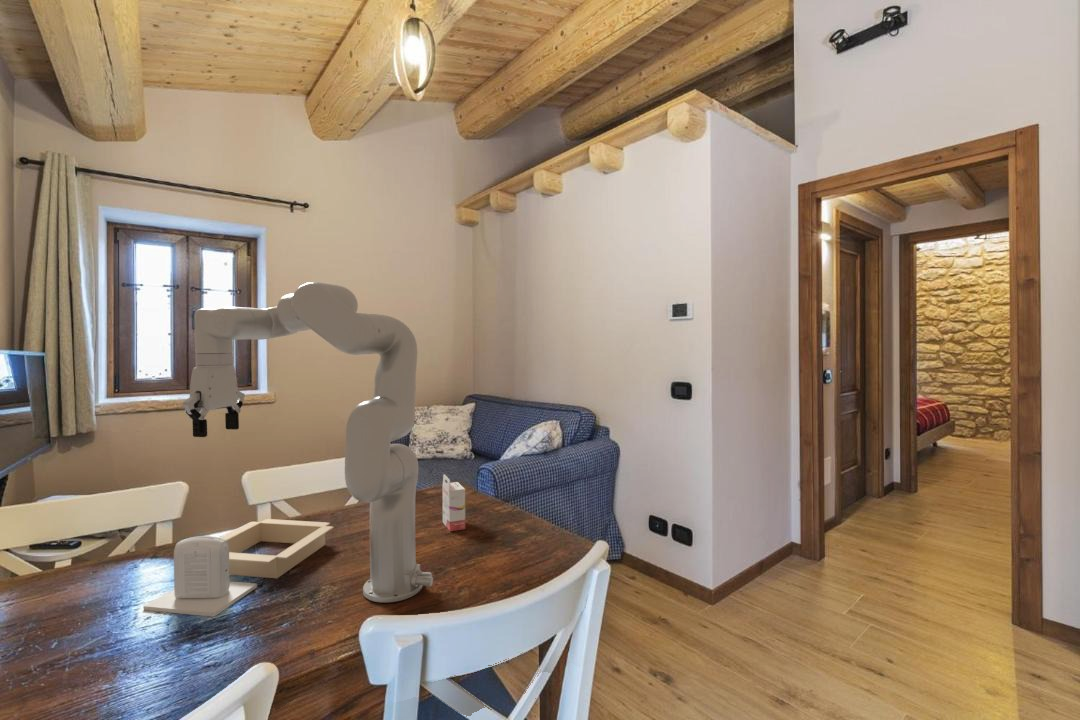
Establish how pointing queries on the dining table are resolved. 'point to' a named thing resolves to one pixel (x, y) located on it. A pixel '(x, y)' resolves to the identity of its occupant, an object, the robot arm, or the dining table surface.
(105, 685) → the dining table surface
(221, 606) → the mat
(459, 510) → the ink cartridge box
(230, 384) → the robot arm
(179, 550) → the photo printer
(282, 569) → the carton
